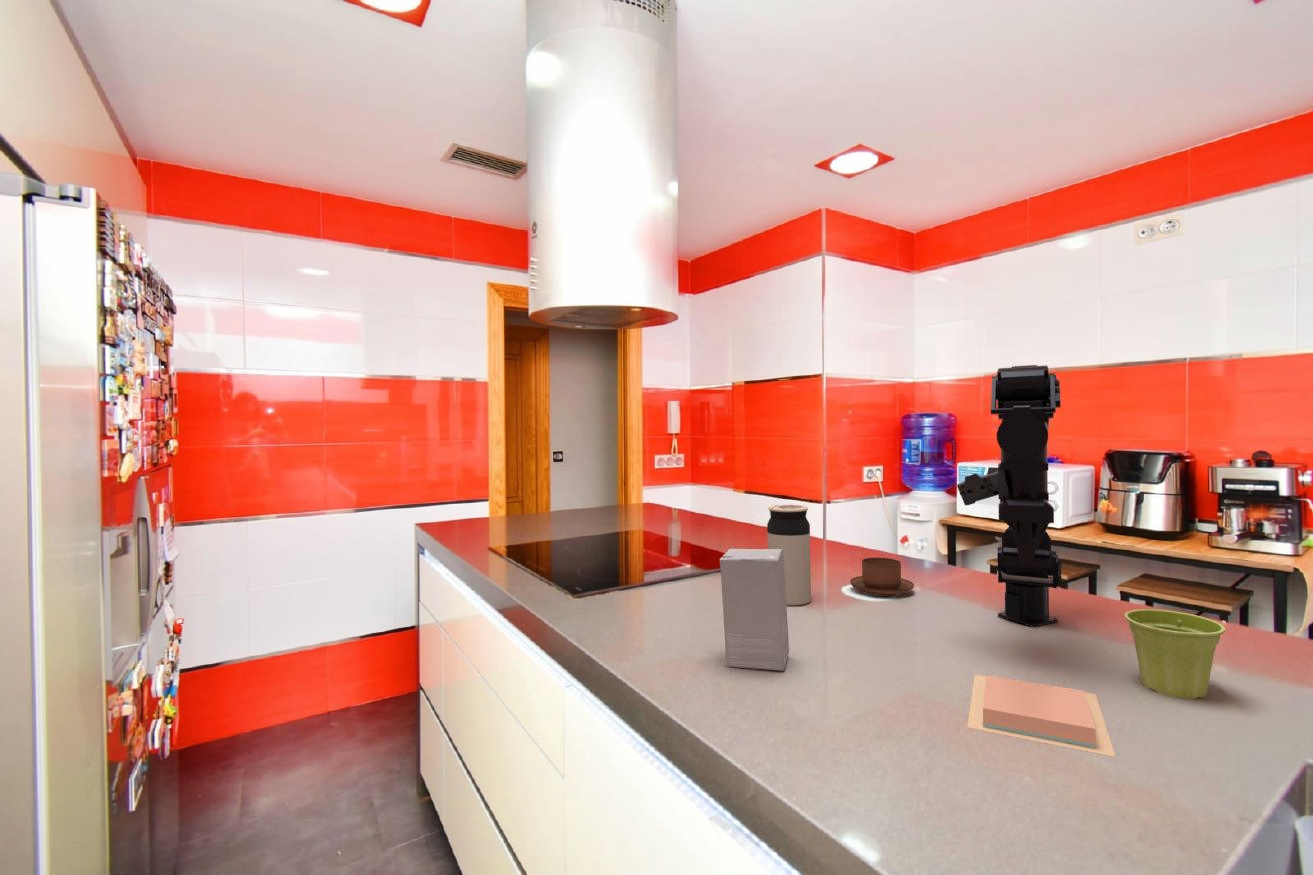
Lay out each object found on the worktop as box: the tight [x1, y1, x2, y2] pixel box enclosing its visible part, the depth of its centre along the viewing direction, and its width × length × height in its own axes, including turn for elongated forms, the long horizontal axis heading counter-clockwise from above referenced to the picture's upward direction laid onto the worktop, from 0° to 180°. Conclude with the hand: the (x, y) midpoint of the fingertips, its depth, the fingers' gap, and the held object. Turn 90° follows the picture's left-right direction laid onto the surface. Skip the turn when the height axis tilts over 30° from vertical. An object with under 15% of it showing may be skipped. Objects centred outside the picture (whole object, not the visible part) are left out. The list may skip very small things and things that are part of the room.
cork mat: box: [966, 674, 1116, 758], centre depth 70 cm, size 16×13×1 cm
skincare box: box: [719, 548, 790, 671], centre depth 87 cm, size 8×7×16 cm
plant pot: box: [1124, 608, 1226, 700], centre depth 75 cm, size 9×9×9 cm
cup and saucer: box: [849, 557, 915, 597], centre depth 123 cm, size 12×12×6 cm
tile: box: [983, 674, 1096, 749], centre depth 69 cm, size 2×10×10 cm
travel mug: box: [766, 504, 812, 607], centre depth 118 cm, size 8×8×18 cm
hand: (1025, 564), depth 88 cm, fingers closed
